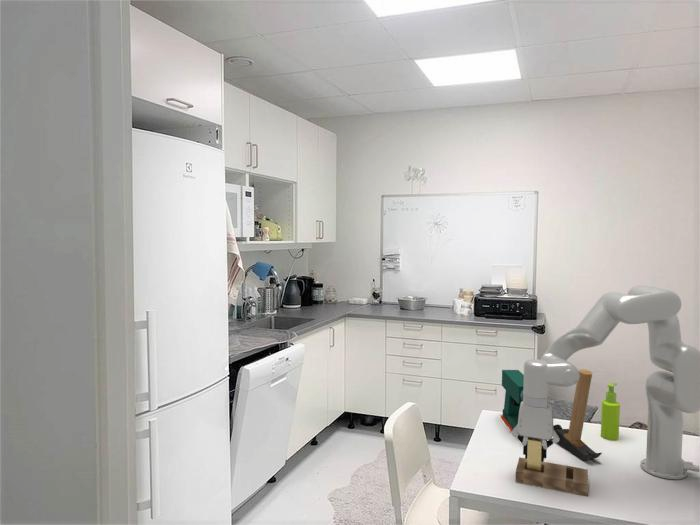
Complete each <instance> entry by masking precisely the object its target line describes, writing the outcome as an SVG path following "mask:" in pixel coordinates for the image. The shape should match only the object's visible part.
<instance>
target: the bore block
mask: <svg viewBox="0 0 700 525" xmlns="http://www.w3.org/2000/svg"><path fill="white" fill-rule="evenodd" d="M515 483H519V484H523V483H524V484H525V485H528V484H529V486H533V485H535V486H534V487H538V486H540V487H539V488H543V487H544V488H543V489H548V488H550V489H549V490H553V489H554V491H560V492H564V493H570V494H575V495H580V496H585V497H589V469H587V468H581V467H575V466H571V465H570V466H569V465H566V464H559V463H554V462H549V461H544V462H542V470H541V472H537V471H532V470H527V459H525V457H520V456H519V458H518V460H517V465H516V469H515Z"/></svg>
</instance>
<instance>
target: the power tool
mask: <svg viewBox="0 0 700 525" xmlns="http://www.w3.org/2000/svg"><path fill="white" fill-rule="evenodd" d="M501 386H502V387H503V389H504V390H505V394H504V404H503V405H504V406H503V408H502V414H501V415H500V419H501V420H502V422H503V423H504V424H505V425H506V426H507V428H508V429H509V431H510V432H511V433H512V430H513V429H514V428H515V427H516V425H517V424H518V417H519V409H520V404H521V402H522V401H523V388H524V373H522V372H521V371H520V370H519V369H501Z"/></svg>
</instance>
